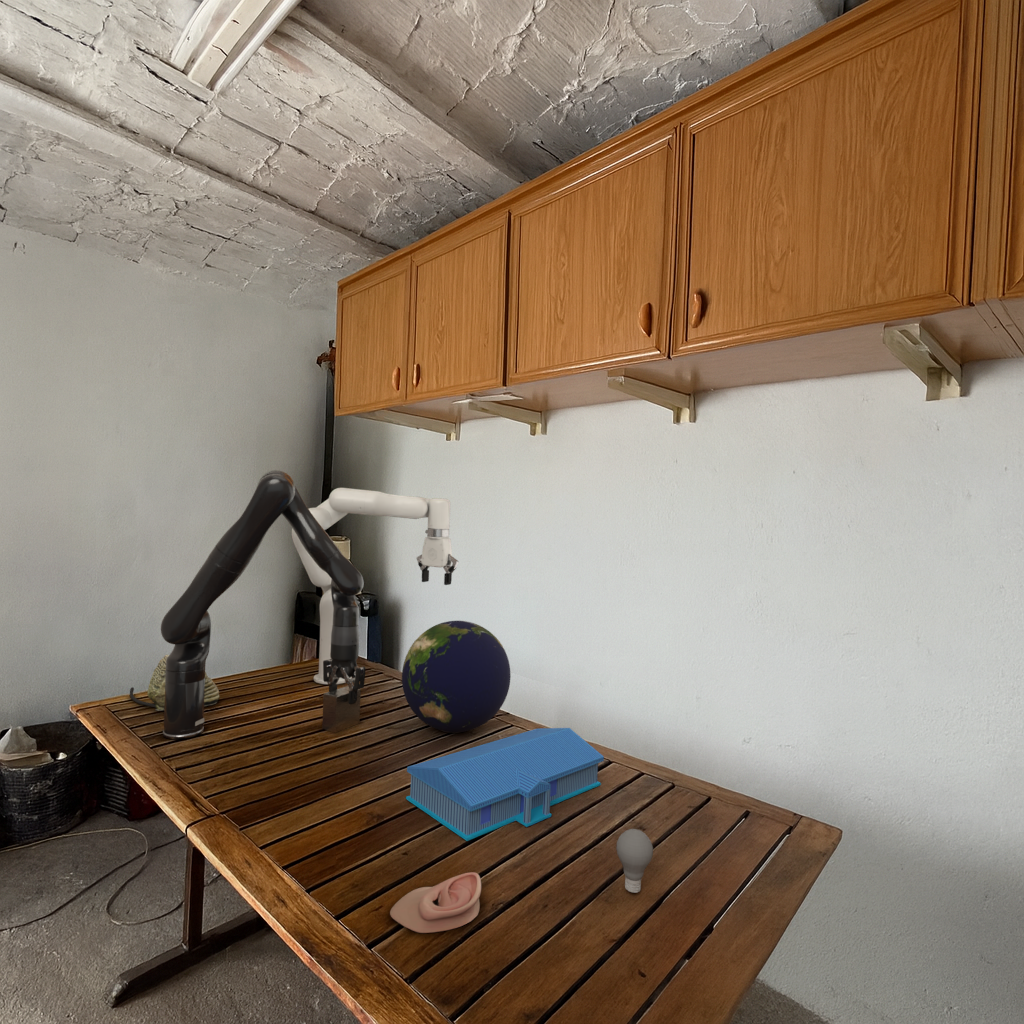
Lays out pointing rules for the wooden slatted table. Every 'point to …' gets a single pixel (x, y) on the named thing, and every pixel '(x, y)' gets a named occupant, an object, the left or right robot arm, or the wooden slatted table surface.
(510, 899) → the wooden slatted table surface
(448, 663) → the globe
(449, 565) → the right robot arm
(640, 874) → the light bulb
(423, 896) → the anatomical model
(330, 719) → the block
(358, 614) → the left robot arm
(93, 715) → the wooden slatted table surface
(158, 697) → the fossil
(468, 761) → the model building
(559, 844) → the wooden slatted table surface
